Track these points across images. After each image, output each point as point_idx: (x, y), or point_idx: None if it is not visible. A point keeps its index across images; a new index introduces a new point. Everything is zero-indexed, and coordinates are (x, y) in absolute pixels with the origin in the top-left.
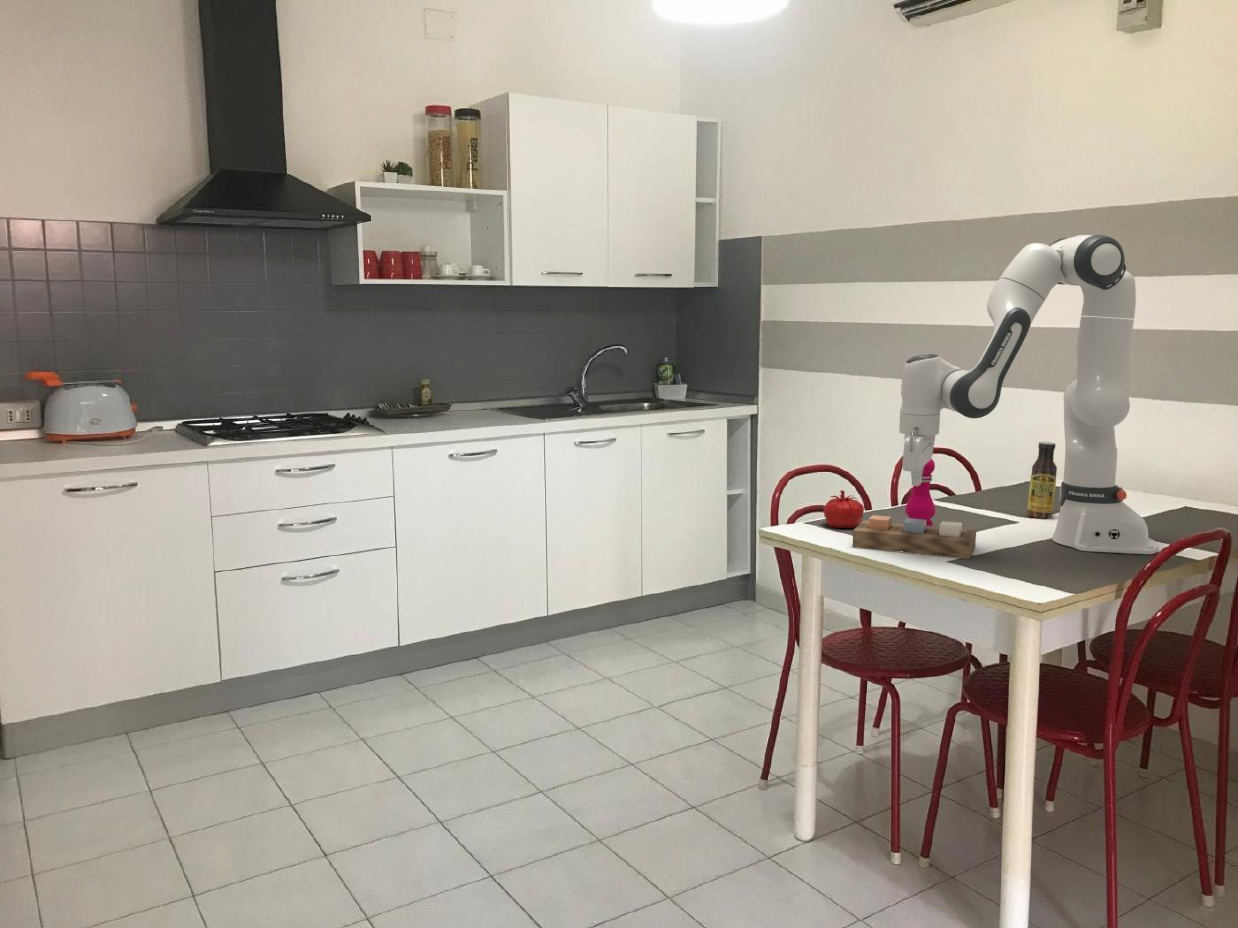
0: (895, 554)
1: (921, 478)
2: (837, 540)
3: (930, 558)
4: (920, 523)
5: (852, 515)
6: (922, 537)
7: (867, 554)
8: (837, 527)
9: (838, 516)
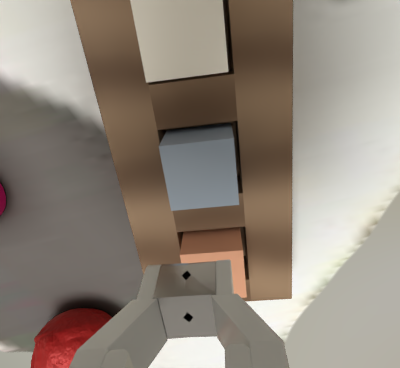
0: (313, 164)
1: (150, 289)
2: None
3: (322, 61)
4: (234, 148)
5: None
6: (291, 112)
7: (341, 221)
8: None
9: None
